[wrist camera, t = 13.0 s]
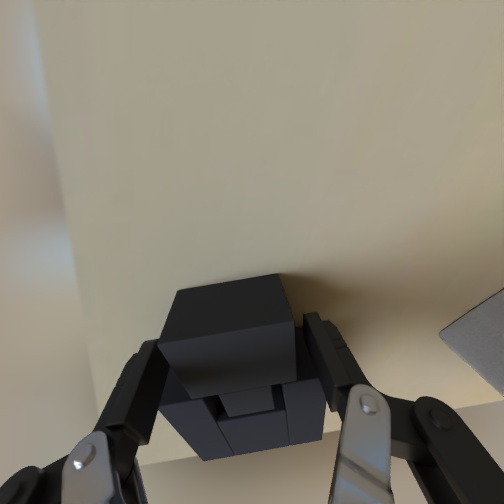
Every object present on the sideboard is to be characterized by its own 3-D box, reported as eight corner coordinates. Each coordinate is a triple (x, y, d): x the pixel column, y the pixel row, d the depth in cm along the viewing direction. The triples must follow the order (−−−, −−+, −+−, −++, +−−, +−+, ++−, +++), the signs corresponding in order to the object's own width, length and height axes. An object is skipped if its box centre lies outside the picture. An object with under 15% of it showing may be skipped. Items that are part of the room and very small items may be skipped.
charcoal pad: (207, 410, 19) (203, 461, 16) (172, 349, 14) (155, 407, 11) (307, 392, 19) (322, 440, 16) (308, 325, 14) (330, 376, 11)
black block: (210, 366, 15) (205, 421, 12) (177, 290, 11) (156, 344, 8) (284, 353, 15) (298, 405, 12) (277, 273, 11) (294, 320, 8)
